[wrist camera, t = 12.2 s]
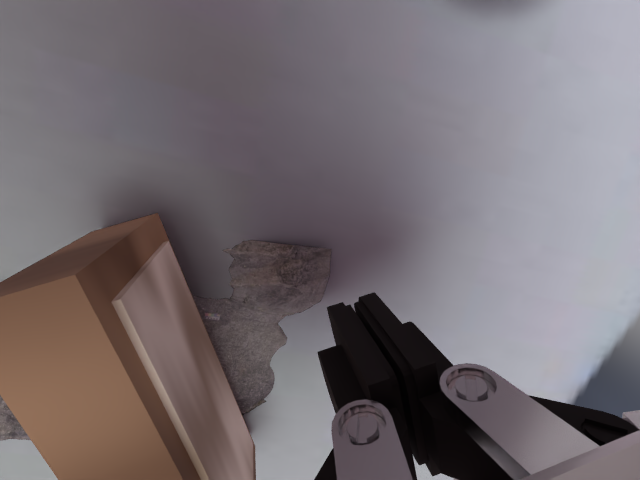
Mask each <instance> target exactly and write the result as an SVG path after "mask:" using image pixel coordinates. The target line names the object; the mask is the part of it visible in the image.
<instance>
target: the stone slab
mask: <svg viewBox="0 0 640 480" xmlns="http://www.w3.org/2000/svg"><path fill="white" fill-rule="evenodd" d="M331 250H332V249H326V248H316V247H306V246H298V245H287V244H279V243H270V242H262V241H255V240H249V241H243V242H242V243H241V244H239V245H236V246H235V247H234V248H232V249H225V250H223V251H224V252H227V253H229V254H230V255H231V256H232V257H233V258H234V260H233V262H232V264H231V266H230V267H229V272H230V275H231V278H232V280H231V282H230V284H229V285H231V286H232V287H233V288H234V290H233V294H232V296H231V297H230V299H227V298H223V299H219V300H218V299H212V298H201V297H197V296H194V295H192V296H193V299H194V301H195V304H196V306H197V308H198V311H199V313H200V316H201V318H202V320H203V323H204V325H205V328H206V330H207V332H208V335H209V337H210V340H211V342H212V344H213V347H214V349H215V352H216V354H217V356H218V359H219V361H220V363H221V366H222V368H223V371H224V373H225V375H226V378H227V380H228V383H229V385H230V387H231V390H232V392H233V395H234V397H235V399H236V402H237V404H238V407H239V409H240V411H241V414H242V416H243V414H244V413H248V412H250V411H251V410H253V409H254V408H255V407H257V406H259V405H261V404H262V403H264V402H266V401H265V400H264V398H265V397H267V395H268V394H269V393H270V391H271V390H272V388H273V384H274V373H273V370H272V369H271V367H270V361H271V358H272V356H273V355H274V353H275V352H276V351H277V350H278V349H279V348H280V347H281V346H283V345H285V344H286V341H287V337H286V335H285V334H284V332H283V330H282V329H281V327H280V326H279V325H278V322H279V321H280V320H281V319H283V318H284V317H285V316H286V315H287V316H289V315H292V314H295V313H300V312H302V311H304V310H306V309H308V308H310V307H312V306H313V305H314V304H316V303H318V302H320V301H321V299H322V297H323V294H324V291H325V288H326V285H327V282H328V279H329V275H330V257H331ZM6 439H26V440H31V439H30V438H29V436H28V435H27V433H26V432H25V430H24V429H23V427H22V426H21V425H20V423H19V422H18V420H17V419H16V417H15V416H14V414H13V413H12V411H11V410H10V409H9V407H8V406H7V404H6V403H5V401H4V400H3V398H2V397H1V395H0V440H6Z"/></svg>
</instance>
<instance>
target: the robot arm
mask: <svg viewBox="0 0 640 480" xmlns="http://www.w3.org/2000/svg"><path fill="white" fill-rule="evenodd" d="M354 307H355V311H354V310H353V308H352V307H351V305H347V306H345V305H344V303H343V302H342V303H339V304H336V305H332V306H329V307H327V310H328V314H329V318H330V323H331V327H332V331H333V335H334V339H335V343H336V346H334V347H331V348H328V349H325V350H322V351H319V352H318V356H319V360H320V364H321V367H322V371H323V375H324V378H325V382H326V385H327V388H328V392H329V395H330V398H331V401H332V404H333V407H334V410H335V413H336V415H335V417H334V419H333V421H332V430H331V431H332V440H333V449H332V451H331V452H330V454H329V456H328V457H327V459H326V461H325V463H324V464H323V466H322V468H321V469H320V471H319V473H318V474H317V476H316V478H315V479H314V480H417V477H416V471H415V466H414V461H413V456H414V458H415V459H416V461H417V463H418V464H419V465H422V464H426V466H427V467H428V469H429V471H430V473H431V475H432V476H435V475H437V474H440V473H442V474H444V475H447V476H450V477H452V478H454V480H640V410H638V411H632V412H624V413H623V417H622V418H619V417H618V416H615V415H612V414H609V413H606V412H603V411H598V410H593V409H589V408H584V407H580V406H575V405H571V404H566V403H561V402H557V401H552V400H548V399H543V398H538V397H534V396H529V395H526V394H525V393H524V392H522V391H521V390H519V389H518V388H517V387H515V386H514V385H512V384H511V383H509V382H508V381H507V380H505V379H504V378H502V377H501V376H499V375H498V374H497V373H495V372H494V371H492V370H490V369H488V368H486V367H484V366H481V365H477V364H468V363H466V364H457V365H455V366H453V365H452V364H451V362H450V361H449V360H448V359H447V358H446V357H445V356H444V355H443V354H442V353H441V352H440V351H439V350H438V349H437V348H436V347H435V346H434V344H433V343H432V342H431V341H430V340H429V339H428V338H427V337H426V336H425V335H424V334H423V333H422V332H421V331H420V330H419V329H418V328H417V326H416V325H415V324H414V323H412V322H407V323H404V324H402V323H401V322H400V321H399V320H398V318H397V317H396V316H395V315H394V314H393V313H392V312H391V311H390V309H389V308H388V307H387V306H386V305H385V304H384V303H383V301H382V300H381V299H380V298H379V297H378V296H377V295H376V293H371V294H368V295H364V296H361V297H359V302H356V303H354ZM355 312H356V313H355ZM412 454H413V455H412Z"/></svg>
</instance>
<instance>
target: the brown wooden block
mask: <svg viewBox="0 0 640 480" xmlns="http://www.w3.org/2000/svg"><path fill="white" fill-rule="evenodd" d="M0 395H1V397H2V398H3V400H4V401H5V403H6V404H7V406H8V407H9V409H10V410H11V411H12V413H13V414H14V416H15V417H16V419H17V420H18V422H19V423H20V425H21V426H22V427H23V429H24V430H25V432H26V433H27V435H28V436H29V438H30V439H31V441H32V442H33V443H34V445H35V446H36V448H37V449H38V451H39V452H40V454H41V455H42V457H43V458H44V459H45V461H46V462H47V464H48V465H49V467H50V468H51V470H52V471H53V473H54V474H55V475H56V477H57V478H58V480H256V469H255V445H254V442H253V440H252V438H251V435H250V433H249V431H248V428H247V426H246V423H245V421H244V419H243V416H242V414H241V411H240V409H239V407H238V404H237V402H236V399H235V397H234V395H233V392H232V390H231V387H230V385H229V383H228V380H227V378H226V375H225V373H224V371H223V368H222V366H221V363H220V361H219V359H218V356H217V354H216V352H215V349H214V347H213V344H212V342H211V340H210V337H209V335H208V332H207V330H206V328H205V325H204V323H203V320H202V318H201V316H200V313H199V311H198V308H197V306H196V304H195V301H194V299H193V296H192V294H191V292H190V289H189V287H188V284H187V282H186V280H185V277H184V275H183V273H182V270H181V268H180V265H179V263H178V261H177V258H176V256H175V253H174V251H173V249H172V246H171V244H170V241H169V239H168V237H167V234H166V232H165V229H164V227H163V225H162V222H161V220H160V217H159V215H158V213H156V214H152V215H148V216H145V217H141V218H138V219H134V220H131V221H127V222H124V223H120V224H117V225H113V226H110V227H106V228H103V229H99V230H96V231H92V232H90V233H89V234H87V235H85V236H83V237H81V238H80V239H78V240H76V241H74V242H72V243H71V244H69V245H67V246H65V247H63V248H62V249H60V250H58V251H56V252H54V253H53V254H51V255H49V256H47V257H45V258H44V259H42V260H40V261H38V262H36V263H35V264H33V265H31V266H29V267H27V268H25V269H24V270H22V271H20V272H18V273H16V274H15V275H13V276H11V277H9V278H7V279H6V280H4V281H2V282H0Z"/></svg>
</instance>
